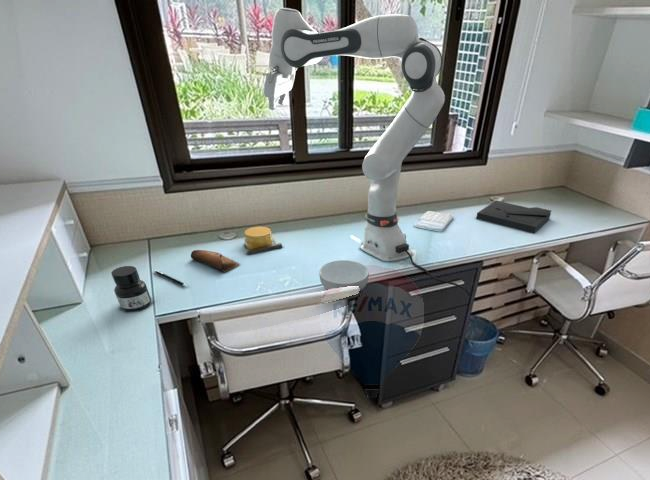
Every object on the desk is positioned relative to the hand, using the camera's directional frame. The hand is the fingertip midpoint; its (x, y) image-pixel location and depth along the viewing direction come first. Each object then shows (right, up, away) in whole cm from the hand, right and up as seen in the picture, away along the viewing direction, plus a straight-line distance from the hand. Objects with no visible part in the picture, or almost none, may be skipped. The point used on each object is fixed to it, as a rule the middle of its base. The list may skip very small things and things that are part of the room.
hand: (276, 106), depth 150 cm
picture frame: (+105, -28, +48) cm, 119 cm away
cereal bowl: (+26, -69, -10) cm, 75 cm away
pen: (-36, -66, -8) cm, 75 cm away
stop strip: (-8, -51, +13) cm, 53 cm away
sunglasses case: (-24, -58, +4) cm, 63 cm away
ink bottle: (-40, -75, -21) cm, 88 cm away
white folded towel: (+65, -32, +42) cm, 84 cm away
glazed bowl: (-11, -47, +18) cm, 52 cm away
